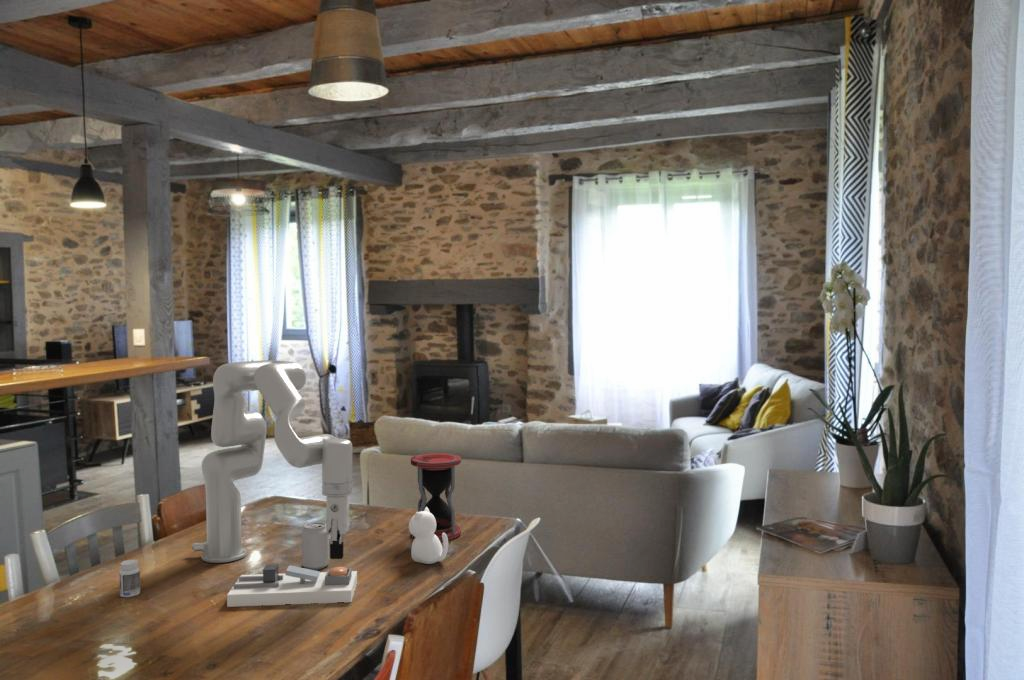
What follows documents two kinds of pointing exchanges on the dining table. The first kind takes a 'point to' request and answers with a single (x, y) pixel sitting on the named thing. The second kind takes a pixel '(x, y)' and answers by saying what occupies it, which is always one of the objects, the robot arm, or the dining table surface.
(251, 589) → the panel
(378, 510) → the dining table surface
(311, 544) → the can
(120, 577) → the pill bottle
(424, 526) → the cat figurine
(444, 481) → the hourglass
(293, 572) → the slate rocker
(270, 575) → the slider
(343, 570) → the button
